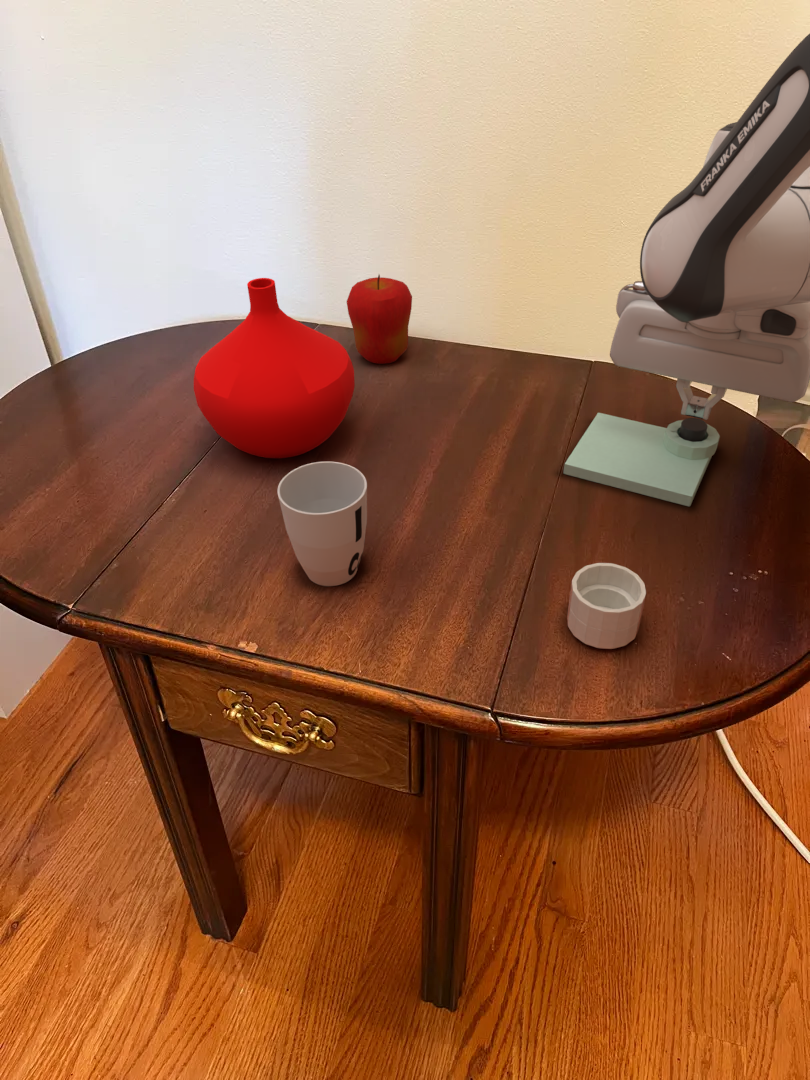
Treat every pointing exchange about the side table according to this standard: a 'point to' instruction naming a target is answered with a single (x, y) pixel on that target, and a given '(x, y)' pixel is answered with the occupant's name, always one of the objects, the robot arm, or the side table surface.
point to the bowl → (605, 605)
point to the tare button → (693, 429)
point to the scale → (642, 458)
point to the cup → (325, 519)
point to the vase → (274, 381)
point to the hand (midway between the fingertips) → (695, 414)
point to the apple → (380, 318)
